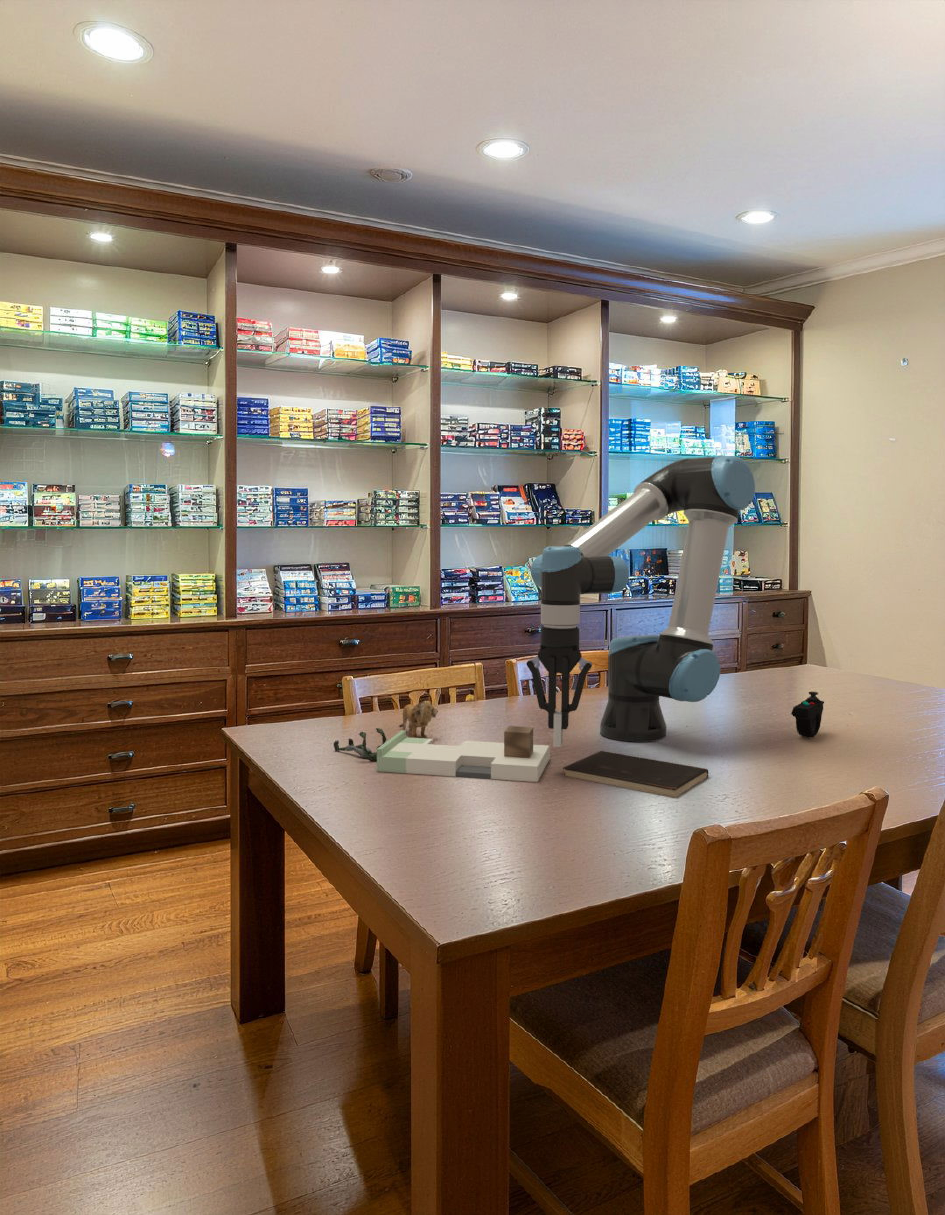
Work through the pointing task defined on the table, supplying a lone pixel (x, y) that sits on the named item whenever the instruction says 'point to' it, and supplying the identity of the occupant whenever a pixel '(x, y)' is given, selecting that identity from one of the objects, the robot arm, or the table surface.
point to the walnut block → (518, 742)
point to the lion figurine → (418, 717)
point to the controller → (808, 715)
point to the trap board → (459, 759)
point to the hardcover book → (637, 773)
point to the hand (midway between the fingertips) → (557, 744)
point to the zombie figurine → (361, 746)
